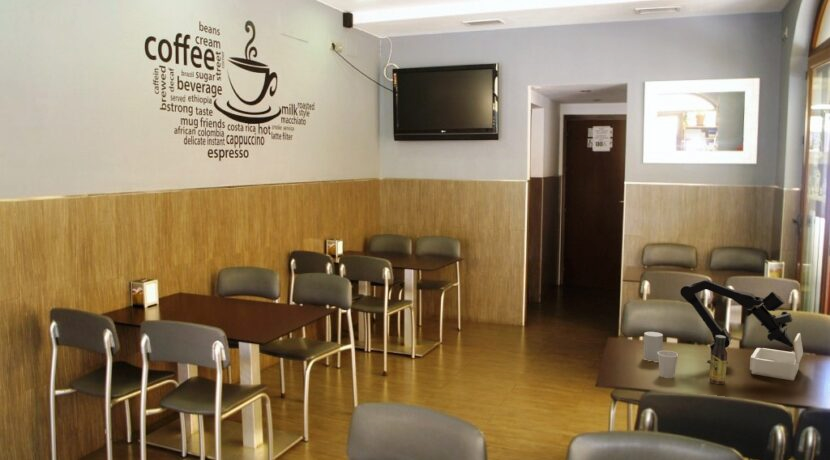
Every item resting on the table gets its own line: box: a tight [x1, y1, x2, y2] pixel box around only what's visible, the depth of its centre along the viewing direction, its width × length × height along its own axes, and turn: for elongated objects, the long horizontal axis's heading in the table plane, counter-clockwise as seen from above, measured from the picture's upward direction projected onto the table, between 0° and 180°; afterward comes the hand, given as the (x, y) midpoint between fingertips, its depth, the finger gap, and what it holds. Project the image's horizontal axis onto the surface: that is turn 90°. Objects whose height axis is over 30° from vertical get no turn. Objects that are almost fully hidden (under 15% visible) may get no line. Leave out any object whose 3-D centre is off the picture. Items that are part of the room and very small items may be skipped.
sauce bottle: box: [708, 335, 728, 385], centre depth 282 cm, size 6×6×20 cm
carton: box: [749, 347, 800, 381], centre depth 297 cm, size 17×20×7 cm
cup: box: [642, 331, 664, 361], centre depth 313 cm, size 8×8×12 cm
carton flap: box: [792, 332, 804, 364], centre depth 291 cm, size 9×17×1 cm
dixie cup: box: [658, 350, 679, 379], centre depth 290 cm, size 8×8×10 cm
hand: (792, 346), depth 292 cm, fingers closed
